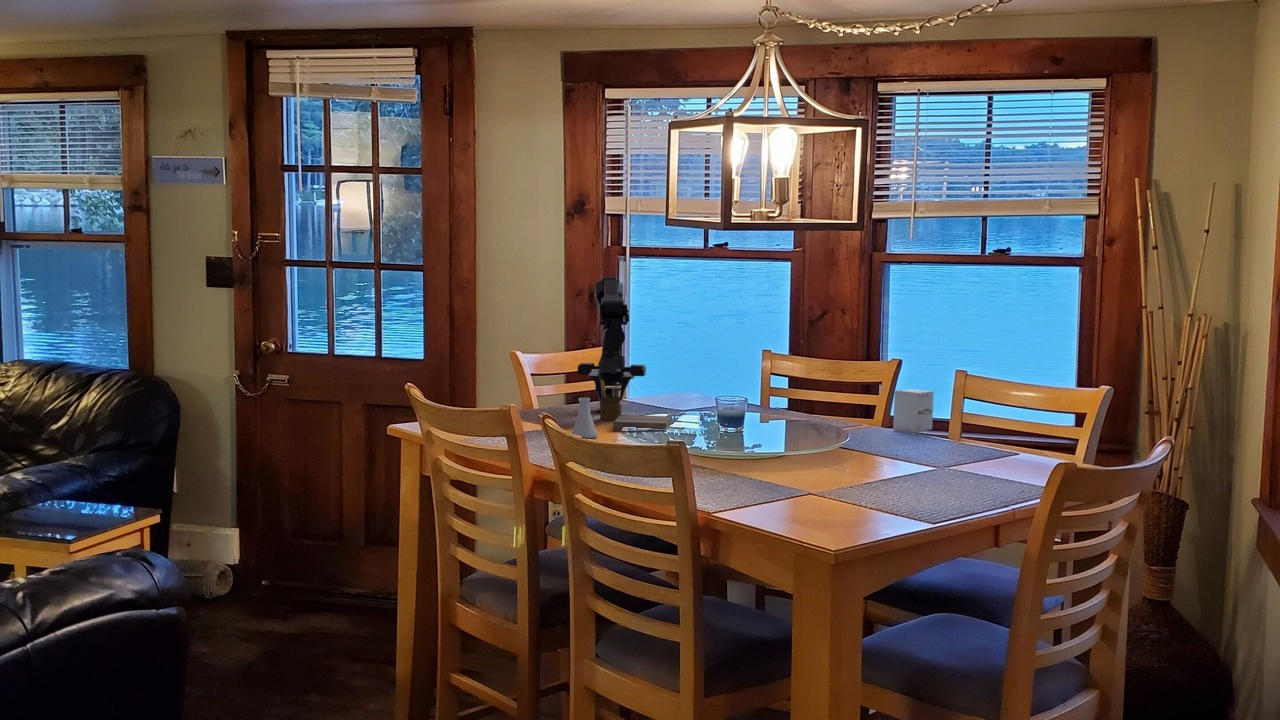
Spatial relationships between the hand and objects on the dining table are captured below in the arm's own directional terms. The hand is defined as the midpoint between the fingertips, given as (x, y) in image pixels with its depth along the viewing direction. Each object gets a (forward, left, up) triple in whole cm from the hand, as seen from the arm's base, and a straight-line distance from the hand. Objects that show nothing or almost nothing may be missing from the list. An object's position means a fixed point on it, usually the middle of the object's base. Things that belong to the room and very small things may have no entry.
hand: (611, 400), depth 322 cm
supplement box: (+16, +81, -6) cm, 83 cm away
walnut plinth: (+11, +10, -6) cm, 16 cm away
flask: (+29, -3, -6) cm, 30 cm away
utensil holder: (0, 0, -6) cm, 6 cm away
